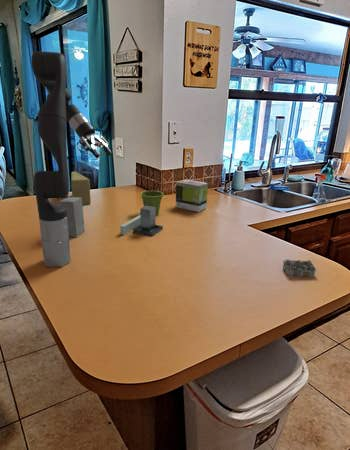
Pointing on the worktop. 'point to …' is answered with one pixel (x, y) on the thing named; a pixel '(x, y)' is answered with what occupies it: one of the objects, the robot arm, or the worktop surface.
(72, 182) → the cheese
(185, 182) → the tea box
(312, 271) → the egg carton
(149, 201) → the plant pot
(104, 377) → the worktop surface
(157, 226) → the frame
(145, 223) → the block
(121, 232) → the door edge
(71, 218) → the skincare box
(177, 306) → the worktop surface
